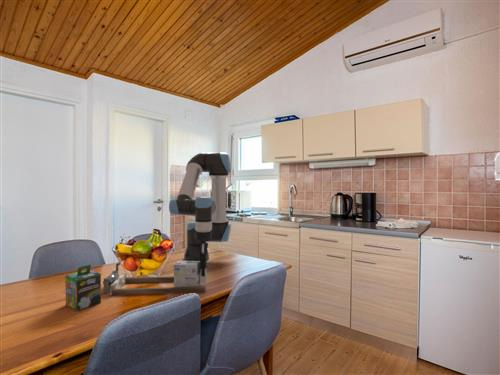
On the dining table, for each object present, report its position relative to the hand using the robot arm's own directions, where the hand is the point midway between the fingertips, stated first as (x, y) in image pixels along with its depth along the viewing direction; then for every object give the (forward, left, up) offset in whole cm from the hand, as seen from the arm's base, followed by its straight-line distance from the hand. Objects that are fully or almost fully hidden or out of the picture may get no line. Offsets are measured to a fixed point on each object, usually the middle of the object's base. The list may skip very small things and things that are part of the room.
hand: (203, 282), depth 130 cm
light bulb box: (0, -7, -2) cm, 7 cm away
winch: (-2, -40, -1) cm, 40 cm away
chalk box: (+16, -44, -2) cm, 47 cm away
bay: (0, -18, -1) cm, 18 cm away
